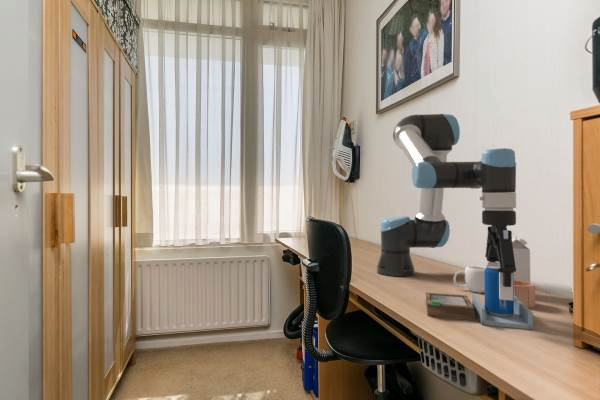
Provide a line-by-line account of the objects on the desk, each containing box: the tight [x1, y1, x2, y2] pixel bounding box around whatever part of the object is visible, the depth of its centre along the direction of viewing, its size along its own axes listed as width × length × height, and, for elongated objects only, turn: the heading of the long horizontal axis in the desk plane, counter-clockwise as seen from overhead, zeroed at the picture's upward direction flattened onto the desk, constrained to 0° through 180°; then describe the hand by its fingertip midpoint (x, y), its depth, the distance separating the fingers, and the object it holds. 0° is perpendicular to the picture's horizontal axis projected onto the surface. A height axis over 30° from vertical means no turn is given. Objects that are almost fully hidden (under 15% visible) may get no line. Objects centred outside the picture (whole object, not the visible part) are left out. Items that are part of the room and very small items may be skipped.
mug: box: [453, 265, 486, 294], centre depth 113 cm, size 12×8×8 cm
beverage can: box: [484, 265, 514, 317], centre depth 87 cm, size 6×6×12 cm
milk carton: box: [512, 233, 531, 282], centre depth 109 cm, size 7×7×19 cm
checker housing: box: [425, 292, 475, 321], centre depth 93 cm, size 12×11×4 cm
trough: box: [471, 292, 534, 331], centre depth 87 cm, size 14×11×4 cm
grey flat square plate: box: [431, 295, 467, 306], centre depth 93 cm, size 8×8×1 cm
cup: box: [514, 280, 536, 309], centre depth 99 cm, size 8×8×6 cm
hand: (499, 292), depth 87 cm, fingers open, 13 cm apart
